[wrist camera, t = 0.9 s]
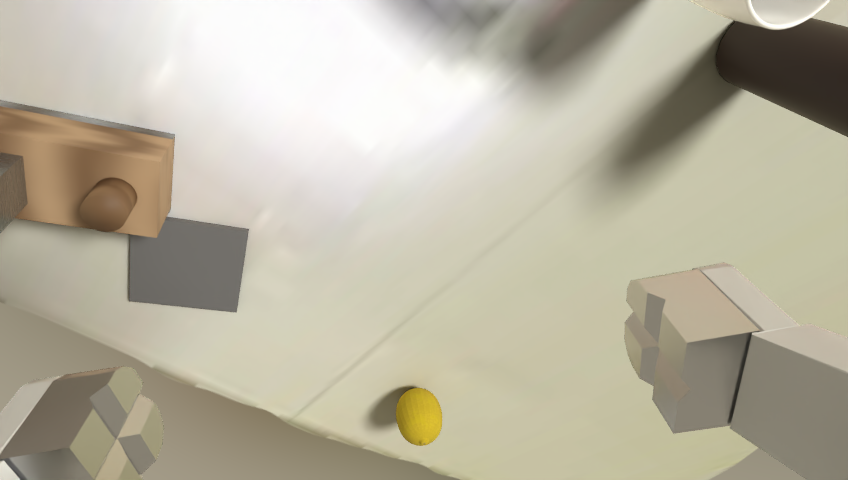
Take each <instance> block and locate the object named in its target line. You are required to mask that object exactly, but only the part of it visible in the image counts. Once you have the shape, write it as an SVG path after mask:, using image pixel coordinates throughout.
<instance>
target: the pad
mask: <svg viewBox="0 0 848 480" xmlns="http://www.w3.org/2000/svg"><path fill="white" fill-rule="evenodd" d="M248 231H249V229H244V228H237V227H231V226H224V225H218V224H211V223H204V222H198V221H191V220H185V219H178V218H171V217H166V219H165V221H164V223H163V225H162V228H161V230H160V232H159V234H158V236H157V238H154V237H147V236H139V235H132V234H130V295H129V301H133V302H142V303H152V304H161V305H171V306H181V307H190V308H200V309H209V310H219V311H228V312H237V306H238V299H239V292H240V285H241V278H242V272H243V265H244V258H245V251H246V244H247V238H248Z"/></svg>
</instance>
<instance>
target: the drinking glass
mask: <svg viewBox="0 0 848 480" xmlns="http://www.w3.org/2000/svg"><path fill="white" fill-rule="evenodd" d="M688 1H690V2H692V3H694V4H696V5H698V6H701V7H703V8H705V9H707V10H709V11H711V12H713V13H716V14H718V15H720V16H723V17H725V18H728V19H731V20H734V21H738V22H741V23H745V24H748V25H753V26H757V27H762V28H766V29H771V30H781V29H787V28H791V27H794V26H796V25H799V24H801V23H803V22H804V21H806V20H808V19H809V18H811V17H812V16H814V15H815V14H816V13H818V12H819V11H820V10H821V9H822V8H823V7H824V6H825V5H826V4H827V3H828V2H829V1H830V0H688Z"/></svg>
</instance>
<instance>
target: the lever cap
mask: <svg viewBox="0 0 848 480" xmlns="http://www.w3.org/2000/svg"><path fill="white" fill-rule="evenodd" d="M27 204H28V201H27V191H26V181H25V171H24V162H23V156H19V155H14V154H8V153H2V152H0V233H1V232H2V231H3V230H4V229H5V228H6V226H7V225H8V224H9V223H10V222H11V221H12V220H13V219H14V218H15V217H16V216H17V215H18V214H19V212H20V211H21V210H22V209H23V208H24V207H25V206H26V205H27Z"/></svg>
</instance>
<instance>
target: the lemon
mask: <svg viewBox="0 0 848 480" xmlns="http://www.w3.org/2000/svg"><path fill="white" fill-rule="evenodd" d="M396 420H397V424H398V427H399V430H400V432H401V434H402V435H403V437H404V438H405V439H406V440H407V441H408V442H410V443H411V444H414V445H418V446H423V445H427V444H429V443H431V442H433V441H434V440H435V439H436V438H437V436H438V435H439V433H440V431H441V427H442V412H441V407H440V405H439V402H438V400H437V399H436V397H435V396H434V395H433V394H432V393H431V392H430V391H428V390H426V389H422V388H413V389H410V390H408V391H407V392H405V393H404V394H403V395H402V396H401V397H400V399H399V401H398V404H397V408H396Z"/></svg>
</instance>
